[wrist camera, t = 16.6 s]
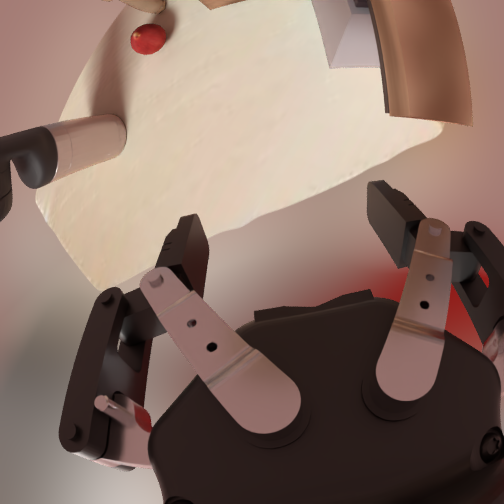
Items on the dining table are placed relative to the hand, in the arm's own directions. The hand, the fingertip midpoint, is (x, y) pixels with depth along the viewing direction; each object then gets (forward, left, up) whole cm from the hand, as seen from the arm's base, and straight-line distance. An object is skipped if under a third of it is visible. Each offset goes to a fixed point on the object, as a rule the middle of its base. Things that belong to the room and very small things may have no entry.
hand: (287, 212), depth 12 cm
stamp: (+9, +15, -6) cm, 18 cm away
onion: (-20, +24, -31) cm, 44 cm away
